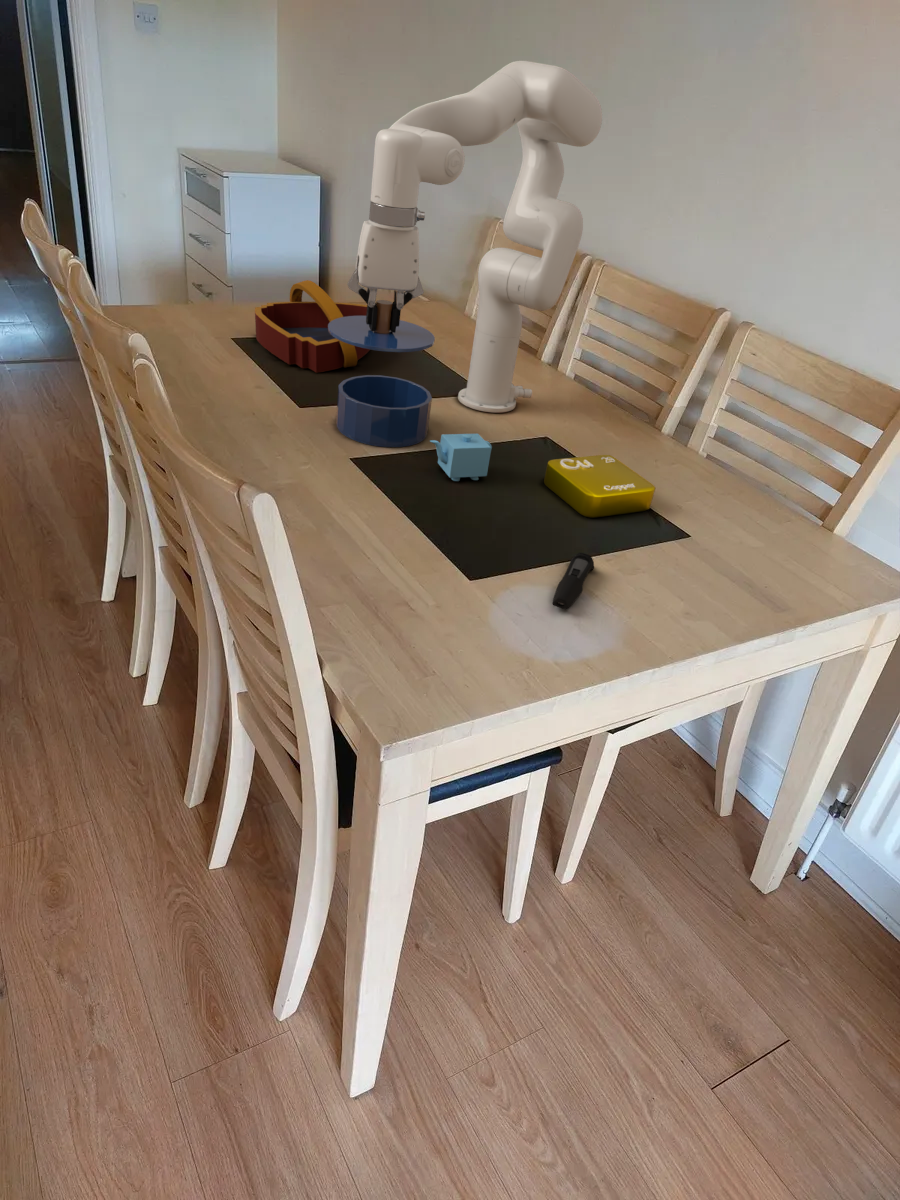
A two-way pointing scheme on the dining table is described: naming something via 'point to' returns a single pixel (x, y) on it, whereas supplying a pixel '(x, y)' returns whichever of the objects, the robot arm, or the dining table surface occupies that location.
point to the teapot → (463, 455)
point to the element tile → (598, 485)
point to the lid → (381, 332)
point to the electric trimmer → (573, 581)
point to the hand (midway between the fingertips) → (382, 328)
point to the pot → (383, 410)
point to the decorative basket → (307, 329)
